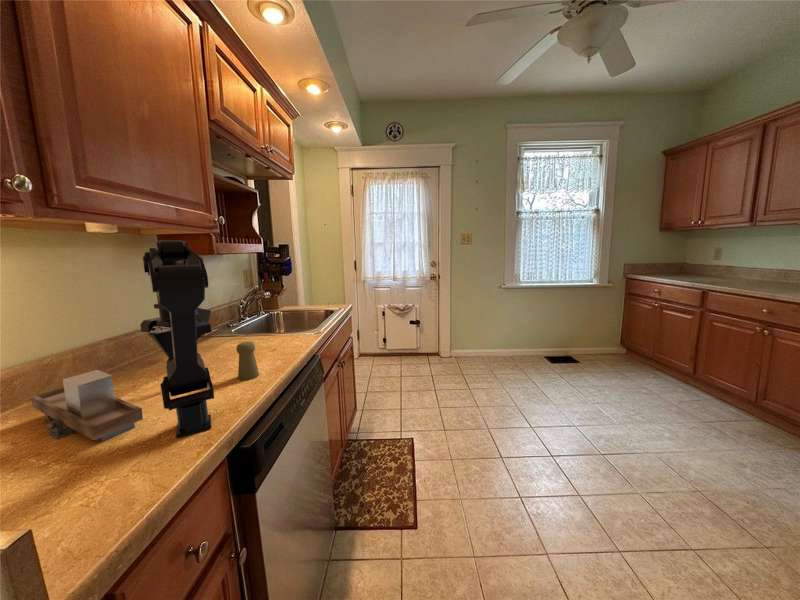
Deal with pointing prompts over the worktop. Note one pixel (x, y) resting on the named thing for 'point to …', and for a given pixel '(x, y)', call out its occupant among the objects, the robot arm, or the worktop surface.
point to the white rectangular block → (89, 394)
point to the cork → (247, 361)
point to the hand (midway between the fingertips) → (180, 359)
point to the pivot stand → (64, 431)
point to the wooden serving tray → (90, 427)
